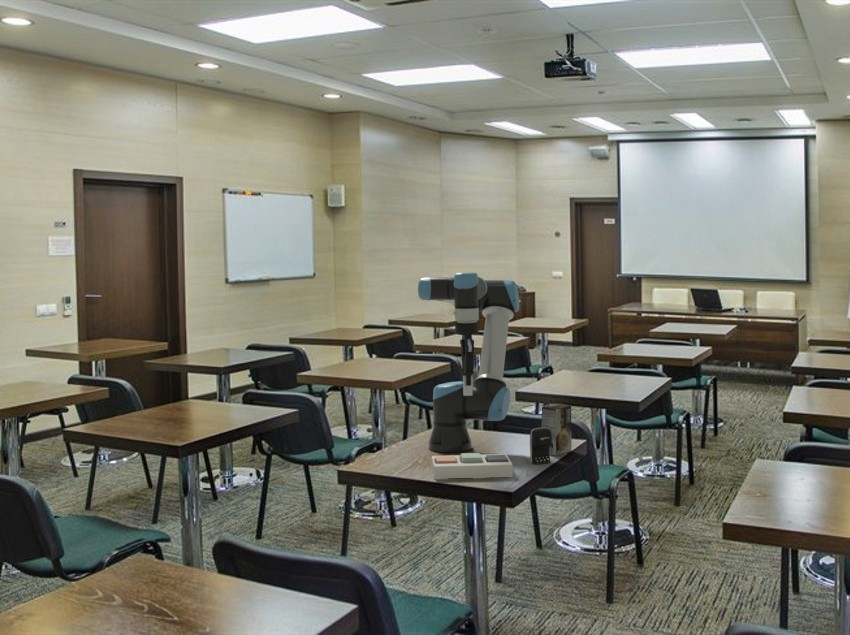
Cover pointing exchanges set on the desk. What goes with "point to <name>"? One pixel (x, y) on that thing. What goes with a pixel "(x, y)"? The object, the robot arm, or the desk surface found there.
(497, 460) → the key charcoal
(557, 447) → the coffee box
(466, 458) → the key sage
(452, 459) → the key terracotta
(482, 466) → the keypad
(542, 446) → the black rounded block
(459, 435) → the robot arm
